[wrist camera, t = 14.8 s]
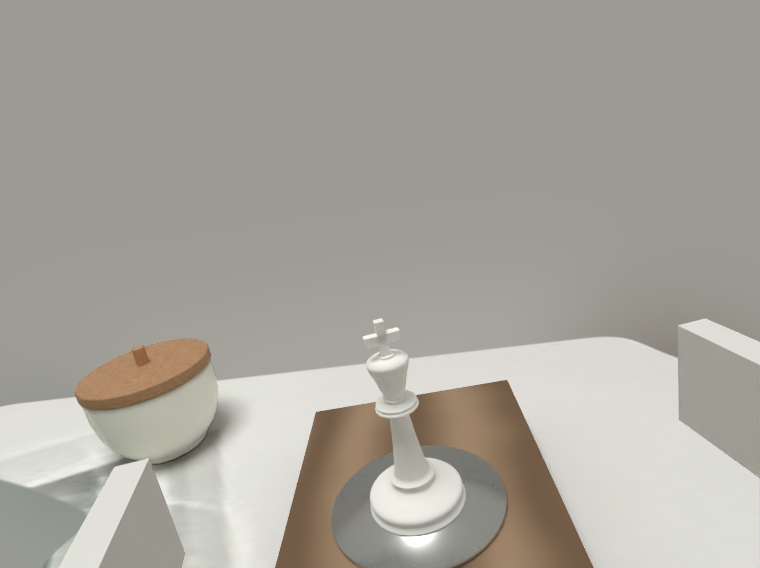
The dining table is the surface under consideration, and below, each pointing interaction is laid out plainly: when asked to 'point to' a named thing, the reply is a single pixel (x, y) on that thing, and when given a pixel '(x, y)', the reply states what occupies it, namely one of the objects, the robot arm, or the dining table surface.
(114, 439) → the lidded jar
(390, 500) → the chess piece
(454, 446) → the walnut base
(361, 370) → the dining table surface
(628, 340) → the dining table surface
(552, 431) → the dining table surface
